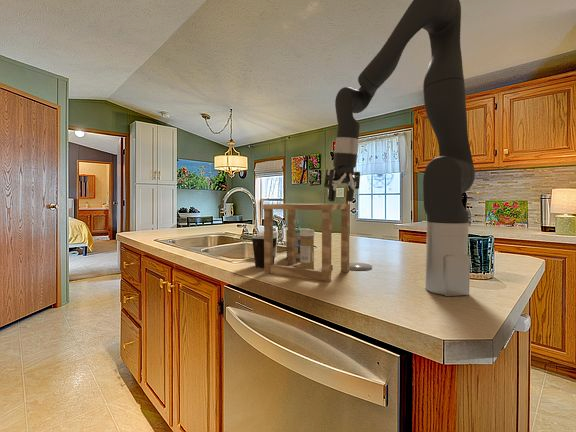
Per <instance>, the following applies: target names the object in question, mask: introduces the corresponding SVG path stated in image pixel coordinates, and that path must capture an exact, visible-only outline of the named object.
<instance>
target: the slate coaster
mask: <svg viewBox="0 0 576 432" xmlns="http://www.w3.org/2000/svg"><path fill="white" fill-rule="evenodd" d="M372 269H373V265H371V264H369V263H364V262H349V271H356V272H357V271H358V272H359V271H369V270H372Z"/></svg>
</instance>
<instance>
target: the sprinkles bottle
mask: <svg viewBox="0 0 576 432" xmlns="http://www.w3.org/2000/svg"><path fill="white" fill-rule="evenodd" d="M311 229H312V228H309V229H303V230H300V237H301V245H300V260H299V261H300V262H301V268H304V269H312V270H315V246H314V245H315V242H314V241H315V229H312V230H311Z"/></svg>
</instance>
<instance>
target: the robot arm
mask: <svg viewBox="0 0 576 432" xmlns="http://www.w3.org/2000/svg"><path fill="white" fill-rule="evenodd" d="M461 23H462V5H461V1H460V0H412V1H411V3H410V4H409V6H408V7H407V9H406V11H405V12H404V14H403V15H402V17H401V18H400V20H399V21H398V23H397V24H396V26H395V27H394V29H393V30H392V32H391V34H390V35H389V37H388V39H387V40H386V42H384V44H383V46H381V48H380V50H379V51H378V52H377V54H376V55H375V56H374V57H373V58H372V60H370V62H369V63H368V64H367V65H366V66H365V68H364V69H363V70H362V71H361V73H359V75H358V77H357V82H358V84H359V86H360V87H359V88H358V89H356V88H355V89H354V88H353V87H349V86H344V87H342V88H340V89H339V90H338V92H337V93H336V96H335V101H334V102H335V103H334V105H335V106H334V107H335V114H336V120H337V131H336V140H335V145H334V153H333V164H332V166H333V167H334V168H333V169H332V168H327V169H326V170H325V175H324V176H325V178H324V183H323V184H324V188H327V189H328V192H327V193H328V194H327V199H328V201H329V202H335V200H336V191H337V188H338V186H340V185H341V184H344V185H345V186H346V188H347V190H346V200H345V201H346V202H350V203H351V202H353V200H354V194H355V191H356V190H359V189H360V183H361V182H360V180H361V171H357V170H356V171H355V170H354V169H355V168H356V167H357V160H358V152H359V135H360V122H359V121H358V120H357V119H355V117H354V114H359V113H362V112H363V111H365V109H367V108H368V107H369V104H370V102H371V101H372V100H373V98H374V96H375V94H376V92H377V90H378V89H379V88H381V86H382V85H384V84H385V82H386V81H387V80H388V79H389V78H390V77H391V75H392V74H393V73H394V72H395V70H396V69H397V66H398V64H399V61H400V59H401V57H402V55H403V53H404V50H405V49H406V46H407V45H408V43H410V41H411V40H412V39H413V37H414V36H415V35H416V34H418V32H420V31H421V30H422V29H423V30H425V31H426V32H427V34H428V38H429V44H430V60H429V64H428V66H427V69H426V71H425V75H424V78H423V86H422V87H423V91H422V92H423V104H424V110H425V113H426V116H427V119H428V120H429V123H430V126H431V128H432V130H433V132H434V135H435V137H436V140H437V144H438V151H439V153H438V154H439V155H438V156H436V157H435V158H433V159H431V160H430V162H428V163H427V165H426V166H425V169H424V171H423V172H424V173H423V178H422V183H423V185H422V192H423V194H422V195H423V209H424V212H425V214H426V241H425V242H426V243H425V244H426V246H425V247H426V250H425V251H426V252H425V290H427V291H428V292H431V293H434V294H438V295H443V296H445V297H455V296H470V279H471V277H470V276H471V256H470V255H469V254H468V253H469V251H468V249H469V247H468V245H469V220H470V219H469V214H470V213H469V212H468V210H467V209H466V208H465V206H464V205H463V200H462V199H463V194H464V193H466V192H467V191H469V190H470V189H471V188H472V186H473V184H474V181H475V177H476V172H475V171H476V170H475V165H474V161H473V156H472V151H471V145H470V141H469V134H468V117H467V104H466V103H467V102H466V88H465V87H466V86H465V77H464V70H463V68H464V67H463V57H462V49H461V28H462V27H461Z"/></svg>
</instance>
